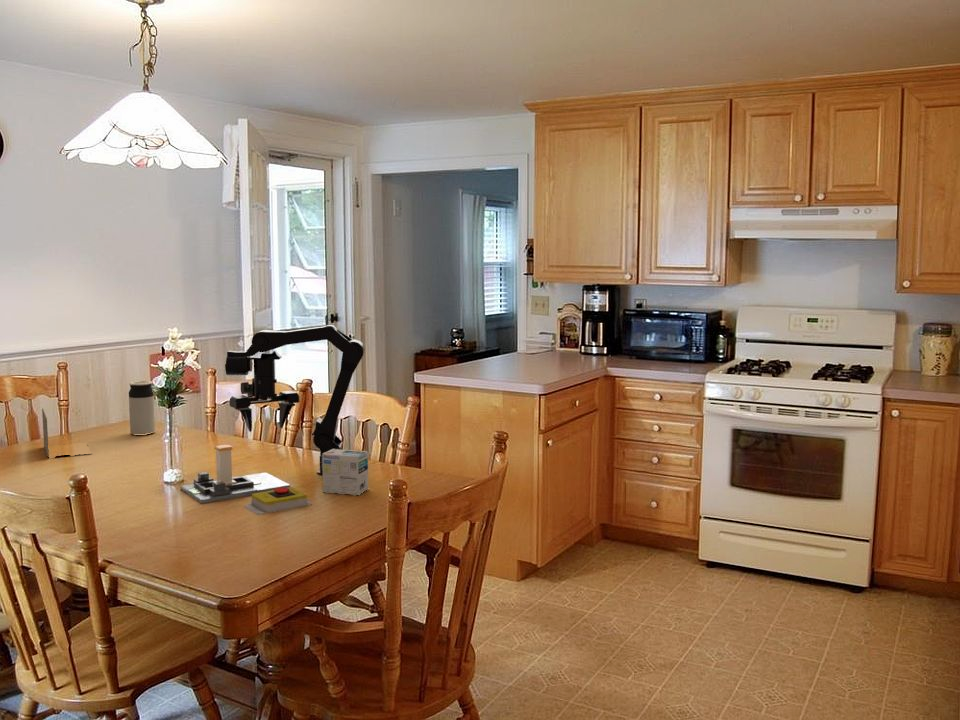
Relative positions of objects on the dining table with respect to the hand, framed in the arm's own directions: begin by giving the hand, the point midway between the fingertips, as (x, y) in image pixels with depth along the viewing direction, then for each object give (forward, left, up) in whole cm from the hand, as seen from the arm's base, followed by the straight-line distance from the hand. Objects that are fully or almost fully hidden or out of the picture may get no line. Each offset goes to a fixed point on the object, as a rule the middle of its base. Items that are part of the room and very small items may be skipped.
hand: (265, 429), depth 240 cm
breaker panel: (-5, +15, -13) cm, 21 cm away
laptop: (+72, +18, -14) cm, 75 cm away
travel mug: (+76, -11, -13) cm, 78 cm away
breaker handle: (-4, +18, -12) cm, 22 cm away
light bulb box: (-30, -1, -13) cm, 33 cm away
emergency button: (-25, +18, -14) cm, 34 cm away
